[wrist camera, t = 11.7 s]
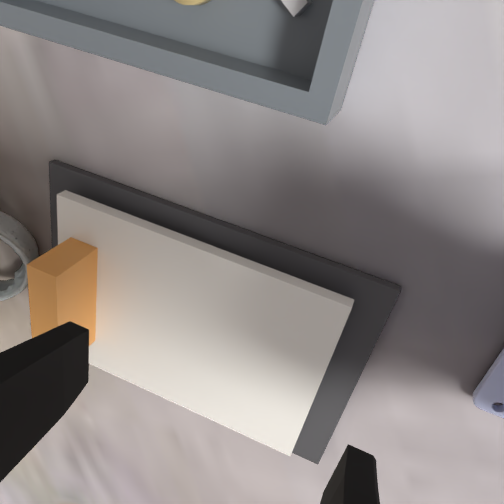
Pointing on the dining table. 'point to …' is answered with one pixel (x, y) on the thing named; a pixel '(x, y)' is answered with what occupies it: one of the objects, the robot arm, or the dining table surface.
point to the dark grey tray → (217, 43)
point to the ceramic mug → (24, 246)
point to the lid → (188, 319)
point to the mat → (271, 255)
